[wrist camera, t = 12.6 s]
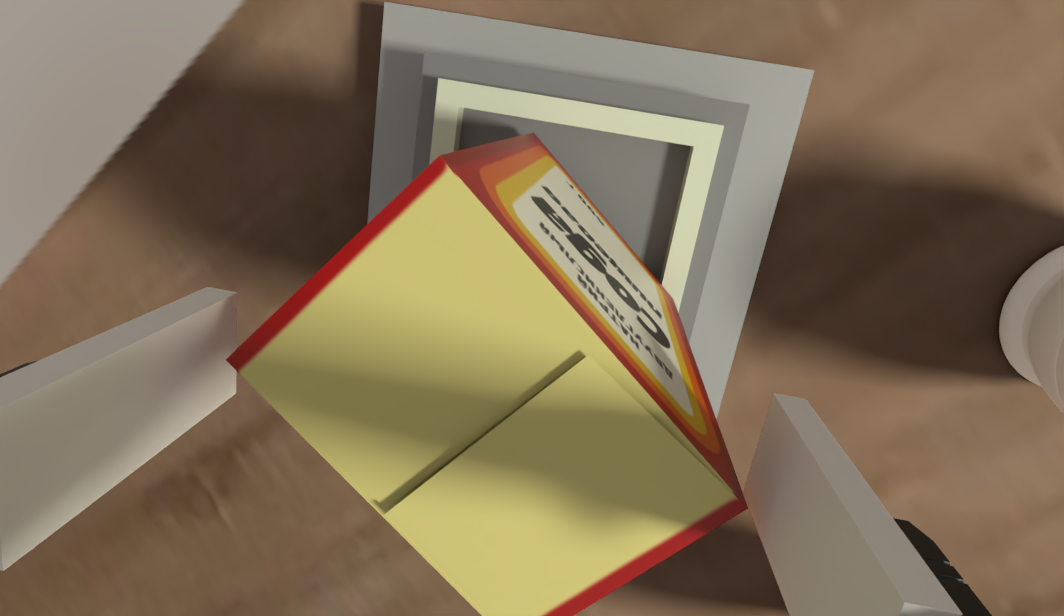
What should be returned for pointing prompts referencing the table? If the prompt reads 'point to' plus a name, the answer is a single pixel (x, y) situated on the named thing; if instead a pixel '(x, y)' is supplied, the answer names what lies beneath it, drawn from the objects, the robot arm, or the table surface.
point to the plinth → (627, 69)
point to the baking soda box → (503, 385)
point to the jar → (1037, 325)
